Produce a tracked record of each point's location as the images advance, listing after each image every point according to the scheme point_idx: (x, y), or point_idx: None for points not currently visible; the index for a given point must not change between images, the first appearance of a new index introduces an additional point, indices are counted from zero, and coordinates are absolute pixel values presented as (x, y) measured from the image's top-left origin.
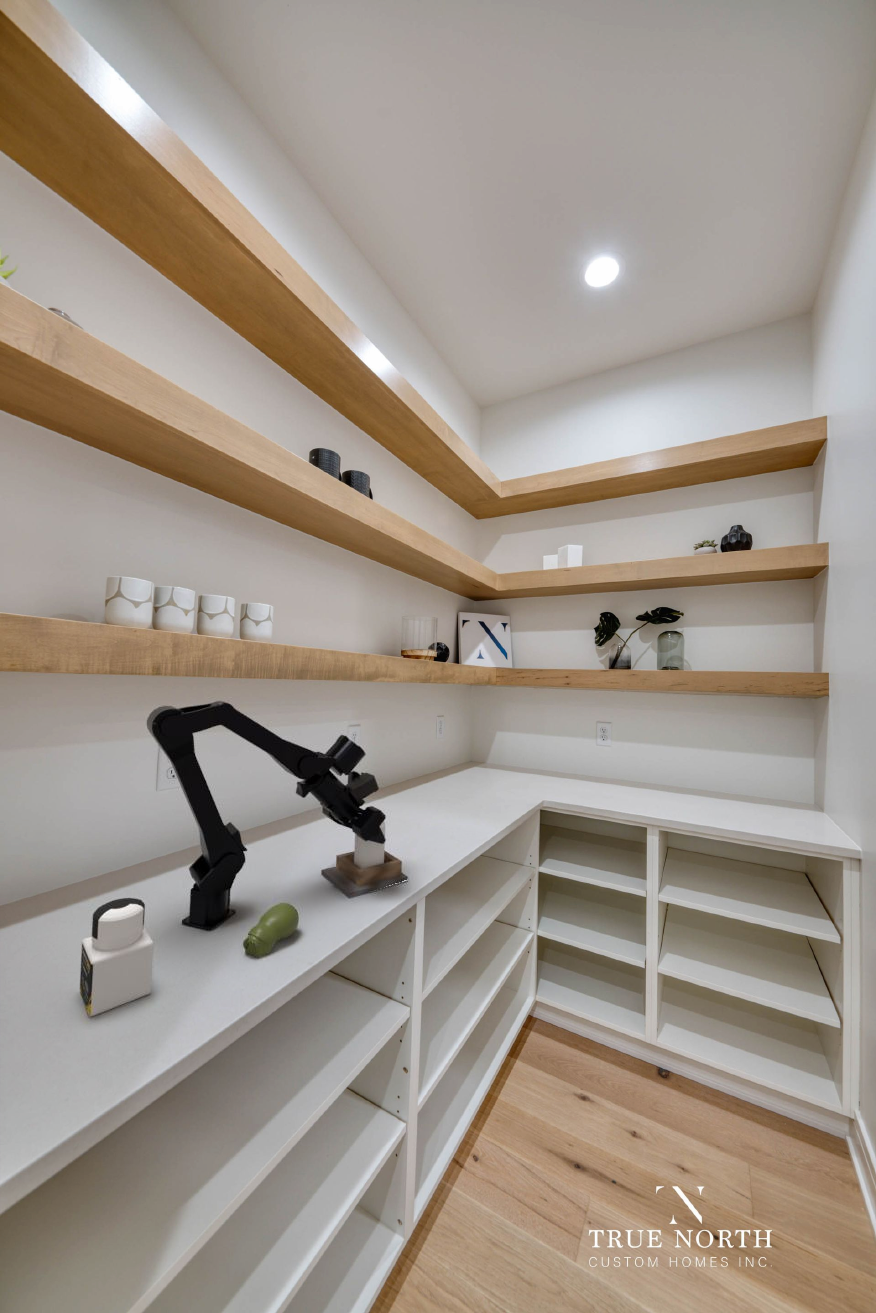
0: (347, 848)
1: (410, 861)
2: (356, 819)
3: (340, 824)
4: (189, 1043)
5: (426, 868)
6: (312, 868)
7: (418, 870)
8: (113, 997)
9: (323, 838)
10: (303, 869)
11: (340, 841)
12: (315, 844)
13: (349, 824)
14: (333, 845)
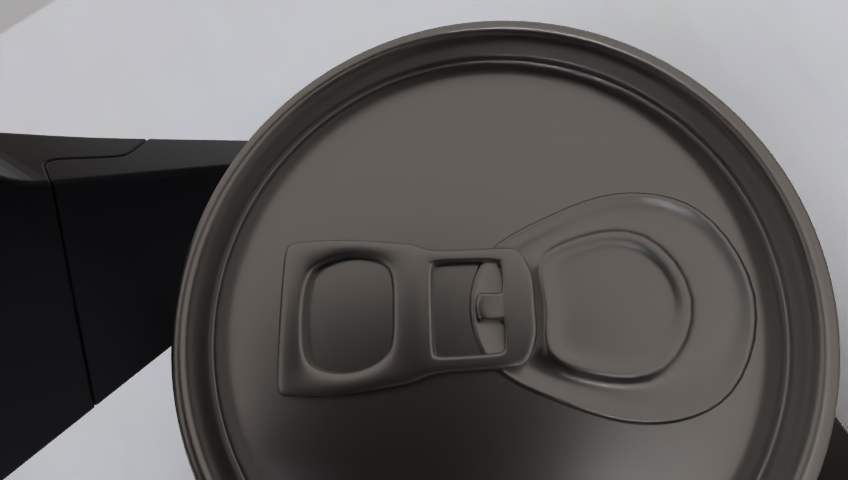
0: (190, 76)
1: (631, 21)
2: (151, 235)
3: (4, 473)
4: None
5: (798, 50)
6: (130, 424)
7: (768, 104)
8: None
9: (20, 43)
10: (88, 464)
11: (115, 24)
12: (12, 128)
13: (121, 351)
14: (103, 86)
